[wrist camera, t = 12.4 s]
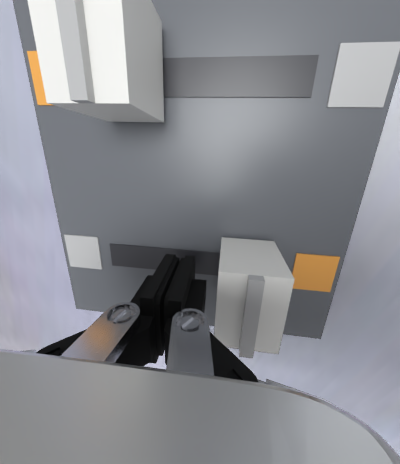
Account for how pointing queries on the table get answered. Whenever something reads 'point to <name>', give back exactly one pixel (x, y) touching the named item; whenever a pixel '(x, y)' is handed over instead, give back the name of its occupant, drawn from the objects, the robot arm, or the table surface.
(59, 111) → the switch panel
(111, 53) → the middle knob
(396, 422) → the table surface
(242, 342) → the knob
